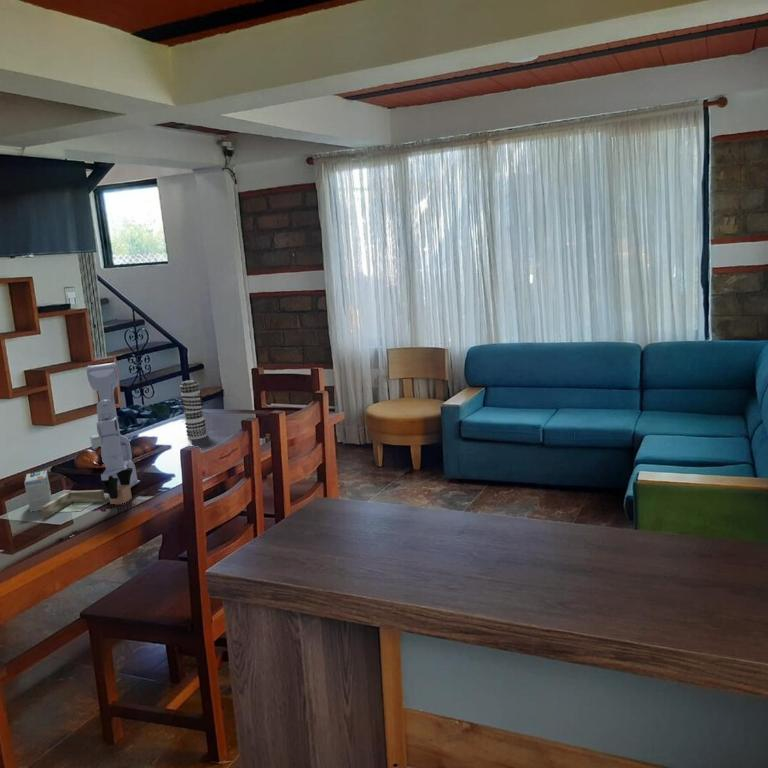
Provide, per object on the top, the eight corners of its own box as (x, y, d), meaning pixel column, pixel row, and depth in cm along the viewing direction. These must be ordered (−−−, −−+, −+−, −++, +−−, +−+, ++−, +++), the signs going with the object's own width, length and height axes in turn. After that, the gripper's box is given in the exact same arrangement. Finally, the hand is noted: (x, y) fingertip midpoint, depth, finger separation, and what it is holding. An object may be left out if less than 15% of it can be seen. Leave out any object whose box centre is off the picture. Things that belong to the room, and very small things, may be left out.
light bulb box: (31, 503, 256) (25, 473, 254) (52, 499, 258) (47, 469, 256) (29, 512, 246) (23, 481, 244) (51, 508, 248) (45, 477, 246)
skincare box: (97, 467, 294) (91, 437, 291) (94, 465, 297) (89, 436, 295) (113, 463, 297) (107, 434, 295) (110, 461, 301) (105, 432, 298)
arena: (70, 501, 254) (68, 491, 253) (105, 499, 252) (103, 489, 251) (43, 517, 240) (41, 507, 239) (80, 516, 237) (78, 505, 237)
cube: (118, 499, 250) (115, 485, 250) (132, 498, 250) (129, 484, 249) (110, 504, 246) (108, 490, 245) (124, 504, 245) (121, 489, 244)
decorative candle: (211, 436, 326) (202, 380, 321) (191, 440, 321) (182, 384, 316) (203, 432, 334) (195, 378, 329) (183, 437, 329) (174, 382, 324)
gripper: (112, 460, 237) (119, 501, 239) (135, 448, 251) (141, 486, 253) (92, 461, 238) (99, 502, 241) (116, 449, 252) (122, 487, 255)
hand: (120, 494), depth 247 cm, fingers open, 7 cm apart
